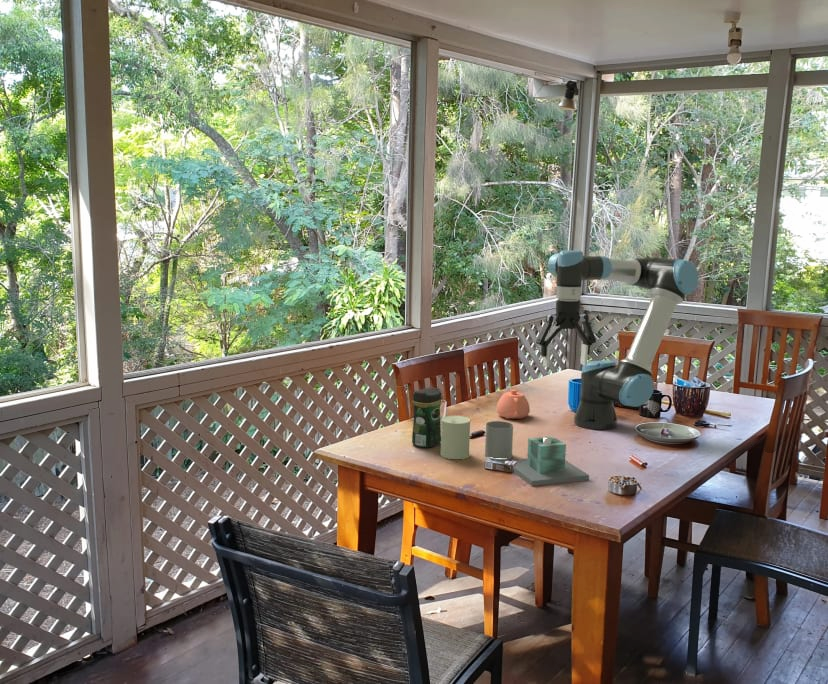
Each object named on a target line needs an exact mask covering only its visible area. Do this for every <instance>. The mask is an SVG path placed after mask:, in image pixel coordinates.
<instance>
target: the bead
mask: <svg viewBox="0 0 828 684" xmlns="http://www.w3.org/2000/svg"><path fill="white" fill-rule="evenodd" d="M543 437H544V436H542V437H541V436H540V437H529V438H528V440H527V456H526V457H527V458H526V459H527V465H529V466H530V467H531V468H533V469H534V470H536V471H537V472H538V473H548V472H558V471H565V460H566V452H567V450H566V449H567V448H566V447H567V444H566V443H565V442H563V441H561V440H560V439H558V438H557V437H555V436H553V435H552V436H550V437H551V438H552V440H551V444H543Z"/></svg>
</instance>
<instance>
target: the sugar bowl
mask: <svg viewBox="0 0 828 684" xmlns="http://www.w3.org/2000/svg"><path fill="white" fill-rule="evenodd" d="M495 410H496V413H498V415H499V416H500V417H503V418H504V419H506V420H509V419H518V420H523V419H524V418H526V417H527V416H528V415H529V414H530V412H531V409H530V404H529V401H528V399H527V397H526V396H525V394H523V393H522V392H519V391H518V390H517V389H510V391H506V392H504V393H503V394H502V395H501V397H500V398H499V400H498V401H497V403H496V409H495Z"/></svg>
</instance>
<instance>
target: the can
mask: <svg viewBox="0 0 828 684" xmlns="http://www.w3.org/2000/svg"><path fill="white" fill-rule="evenodd" d="M440 428H441V442H440V453H439V456H440V455H441V456H442V457H441V456H440V457H441V458H443V457H444V458H443V459H446V458H448V459H447V460H450V459H462V460H466V459H468V458H470V456H471V454H470V439H471V438H470V436H471V433H470V432H471V419H470V418H469V417H466V416H462V415H447V416H443V417H440ZM465 458H466V459H465Z"/></svg>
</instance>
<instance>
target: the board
mask: <svg viewBox="0 0 828 684" xmlns="http://www.w3.org/2000/svg"><path fill="white" fill-rule="evenodd" d="M514 460H515V461H517V464H516V466H515V467H513V470H514V472H513V473H514V474H516V475H517V476H518V477H519V478H520V479H522V480H523V481H524V482H525V483H527V484H528V485H530V486H531V487H536V486H547V485H555V484H564V483H572V482H573V483H574V482H583V481H589V480H590V475H589V474H588V473H586V471H584V470H582V469H580V468H579V467H577V466H576V465H574V464H572V463H571V462H569V461H568V460H566V459H565V471H558V472H548V473H538V472H537V471H536V470H534V469H533V468H531V467H530V466H529V465H527V458H518V459H514Z"/></svg>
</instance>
